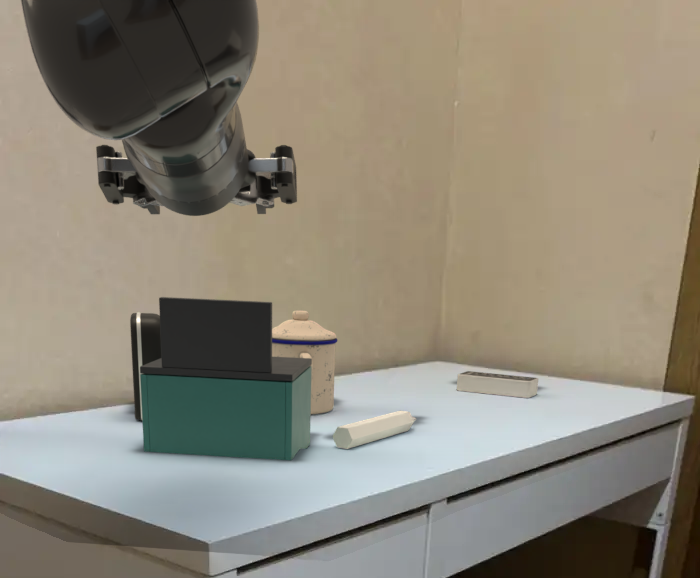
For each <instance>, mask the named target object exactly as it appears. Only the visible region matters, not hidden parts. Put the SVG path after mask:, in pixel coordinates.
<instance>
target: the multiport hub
mask: <svg viewBox="0 0 700 578" xmlns="http://www.w3.org/2000/svg"><path fill="white" fill-rule="evenodd" d="M456 380H457V381H456V391H459V392H468V393H475V394H476V393H477V394H486V395H487V394H488V395H495V396H504V397H505V396H506V397H512V398H513V397H515V398H524V399H530V398H533V397H534V396H536V395H538V388H539V378H538V377H534V376H533V377H531V376H523V375H514V374H513V375H512V374H503V373H491V372H481V371H473V370H472V371H471V370H467V371H464V372H461V373H458V374H457V379H456Z"/></svg>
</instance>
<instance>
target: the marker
mask: <svg viewBox="0 0 700 578" xmlns="http://www.w3.org/2000/svg"><path fill="white" fill-rule="evenodd" d="M416 420H417V417H414V416H412V414H411V412H410V411H405V410H397V411H394V412H389V413H386V414H382V415H378V416H374V417H370V418H367V419H363V420H358V421H355V422H351V423H347V424H343V425H339V426H337V427H336V428H335V430H334V433H333V434H332V436H331V437H332V439H333V442H334V444H335V447H336V448H339V449H344V450H348V449H352V448H355V447H358V446H362V445H366V444H370V443H372V442H376V441H379V440H382V439H385V438H389V437H392V436H396V435H399V434H402V433H406V432H409V431H410V429H411V427H412V426H413V424H414V423H415V421H416Z"/></svg>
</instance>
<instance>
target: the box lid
mask: <svg viewBox="0 0 700 578" xmlns="http://www.w3.org/2000/svg"><path fill="white" fill-rule="evenodd" d="M158 298H159V299H158V306H159V315H160V334H161V358H160V359H158V360H155V361H153V362H150V363H148V364H145V365H143V366H140V373H145V374H164V375H183V376H202V377H220V378H239V379H258V380H277V381H293V380H294V379H295V378H296V377H298V376H299V375H300V374H301V373H302V372H303V371H305V370H306V369H307V368H308V367H309V366H310V365H311V364H312V359H310V358H290V357H272V328H273V302H272V301H257V300H256V301H255V300H254V301H253V300H238V299H237V300H236V299H235V300H233V299H216V298H215V299H213V298H194V297H193V298H192V297H173V296H171V297H169V296H161V297H158Z"/></svg>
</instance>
